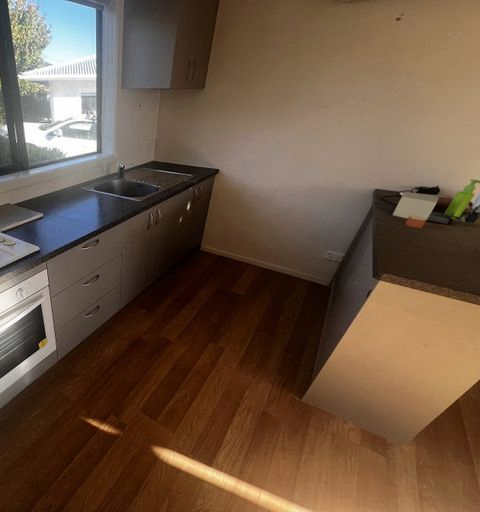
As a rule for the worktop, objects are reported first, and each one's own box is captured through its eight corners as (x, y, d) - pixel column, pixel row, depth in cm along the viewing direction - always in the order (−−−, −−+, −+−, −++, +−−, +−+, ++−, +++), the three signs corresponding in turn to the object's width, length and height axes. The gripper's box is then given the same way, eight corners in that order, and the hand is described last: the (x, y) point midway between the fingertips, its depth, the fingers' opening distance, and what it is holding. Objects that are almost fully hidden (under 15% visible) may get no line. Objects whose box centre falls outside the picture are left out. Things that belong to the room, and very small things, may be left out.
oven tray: (462, 220, 150) (466, 214, 148) (462, 227, 142) (466, 221, 140) (418, 212, 161) (421, 206, 159) (415, 218, 153) (418, 212, 151)
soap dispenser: (450, 218, 156) (475, 181, 146) (440, 213, 161) (463, 178, 152) (463, 219, 154) (489, 182, 145) (453, 215, 160) (477, 179, 150)
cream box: (427, 216, 159) (439, 196, 153) (425, 222, 151) (436, 202, 145) (396, 210, 167) (405, 191, 162) (391, 216, 159) (401, 196, 154)
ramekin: (412, 223, 150) (417, 215, 148) (425, 228, 144) (430, 220, 142) (400, 224, 150) (405, 215, 147) (413, 228, 144) (418, 220, 142)
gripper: (507, 190, 128) (480, 228, 137) (505, 184, 137) (480, 220, 146) (481, 186, 133) (457, 223, 142) (480, 181, 142) (458, 216, 151)
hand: (469, 222), depth 144 cm, fingers closed
